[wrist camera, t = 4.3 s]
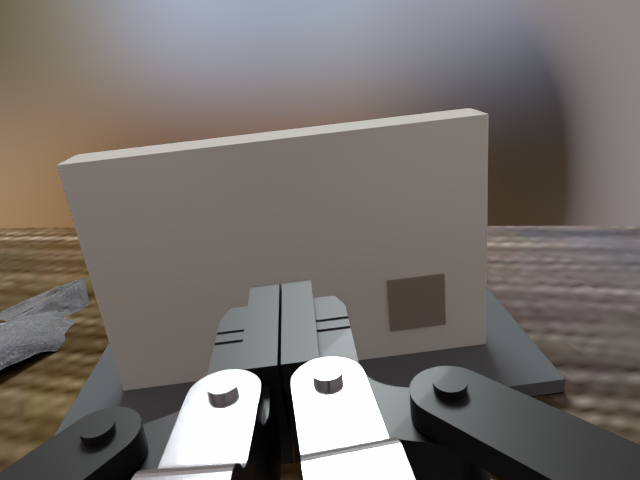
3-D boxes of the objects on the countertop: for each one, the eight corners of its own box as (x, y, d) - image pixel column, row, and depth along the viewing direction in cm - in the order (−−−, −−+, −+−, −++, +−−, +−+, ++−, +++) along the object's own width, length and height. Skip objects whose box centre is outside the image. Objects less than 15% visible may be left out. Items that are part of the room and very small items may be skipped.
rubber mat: (52, 459, 20) (47, 447, 19) (149, 287, 34) (147, 279, 33) (563, 391, 20) (564, 379, 20) (448, 250, 34) (448, 241, 34)
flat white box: (122, 392, 22) (55, 165, 18) (136, 362, 24) (78, 153, 21) (486, 345, 22) (489, 114, 19) (469, 320, 24) (468, 107, 21)
